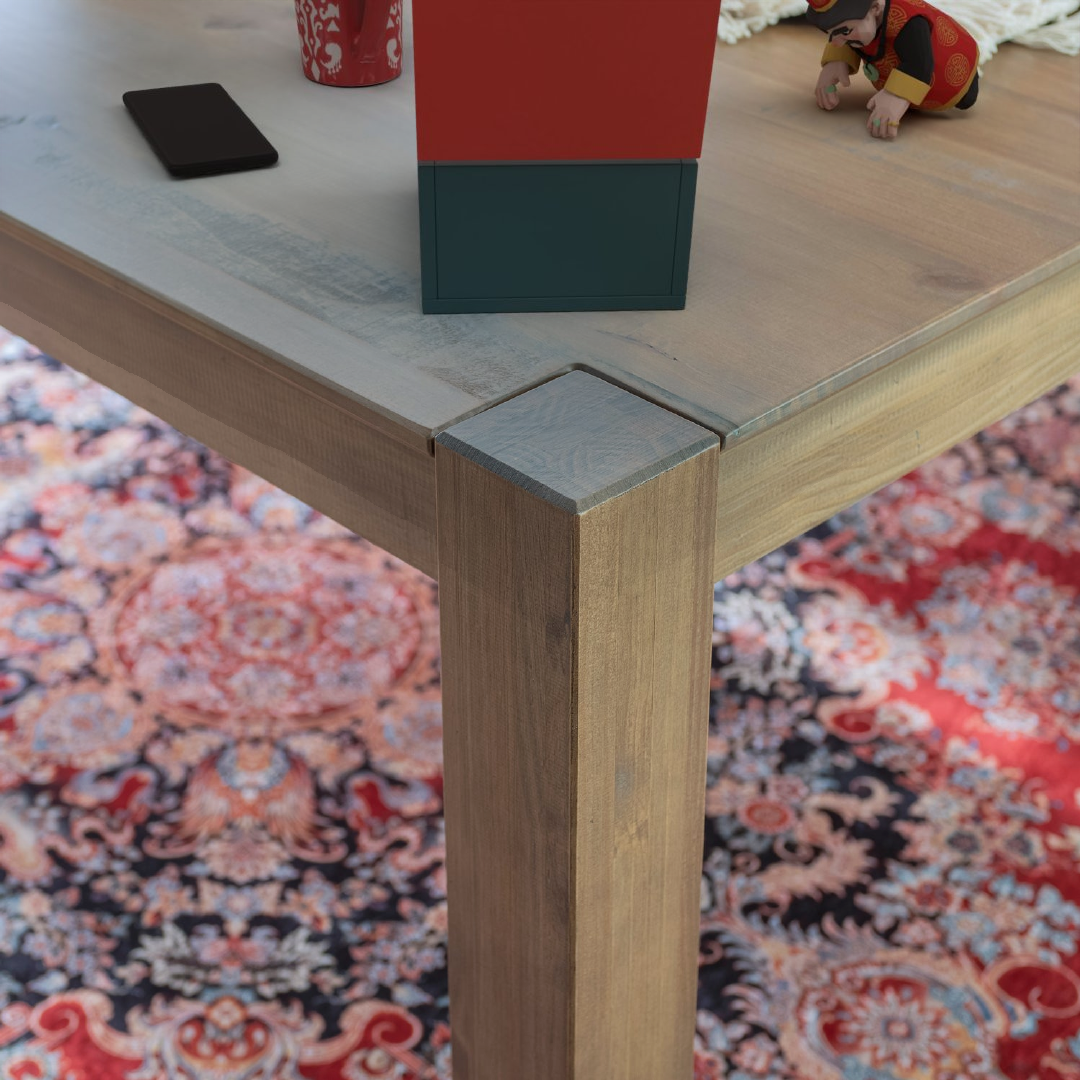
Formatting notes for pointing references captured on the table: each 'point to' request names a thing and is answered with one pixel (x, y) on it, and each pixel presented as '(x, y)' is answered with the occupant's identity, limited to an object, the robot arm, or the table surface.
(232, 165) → the smartphone
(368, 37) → the mug
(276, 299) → the table surface
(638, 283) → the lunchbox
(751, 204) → the table surface
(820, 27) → the figurine
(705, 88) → the lid
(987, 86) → the table surface
